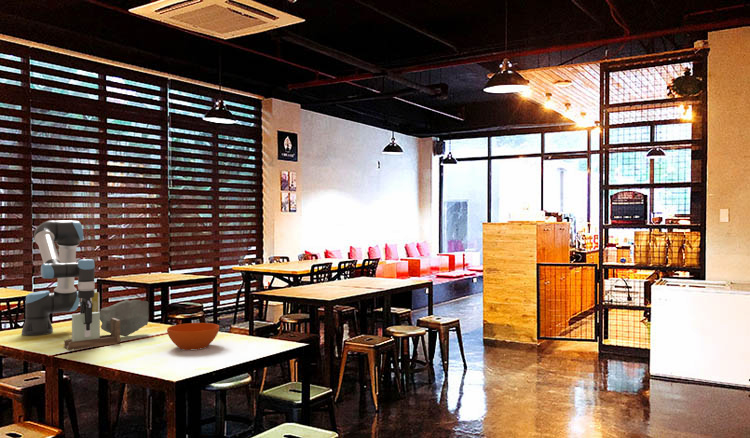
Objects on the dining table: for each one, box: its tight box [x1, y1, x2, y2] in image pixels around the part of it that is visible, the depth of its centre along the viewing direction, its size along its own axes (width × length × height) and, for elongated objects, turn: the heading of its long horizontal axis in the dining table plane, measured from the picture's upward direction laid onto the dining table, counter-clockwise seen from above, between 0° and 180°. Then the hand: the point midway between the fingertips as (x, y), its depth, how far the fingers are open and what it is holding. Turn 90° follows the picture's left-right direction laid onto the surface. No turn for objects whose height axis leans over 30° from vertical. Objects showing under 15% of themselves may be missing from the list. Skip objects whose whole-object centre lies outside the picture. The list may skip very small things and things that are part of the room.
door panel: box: [71, 312, 101, 342], centre depth 295 cm, size 4×12×14 cm, turn 131°
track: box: [63, 318, 121, 351], centre depth 297 cm, size 10×24×12 cm, turn 131°
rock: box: [100, 299, 150, 337], centre depth 319 cm, size 27×6×20 cm, turn 137°
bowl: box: [166, 322, 220, 351], centre depth 293 cm, size 25×25×10 cm
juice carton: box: [80, 289, 101, 313], centre depth 330 cm, size 9×8×24 cm
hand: (86, 335), depth 295 cm, fingers closed on door panel, 4 cm apart
